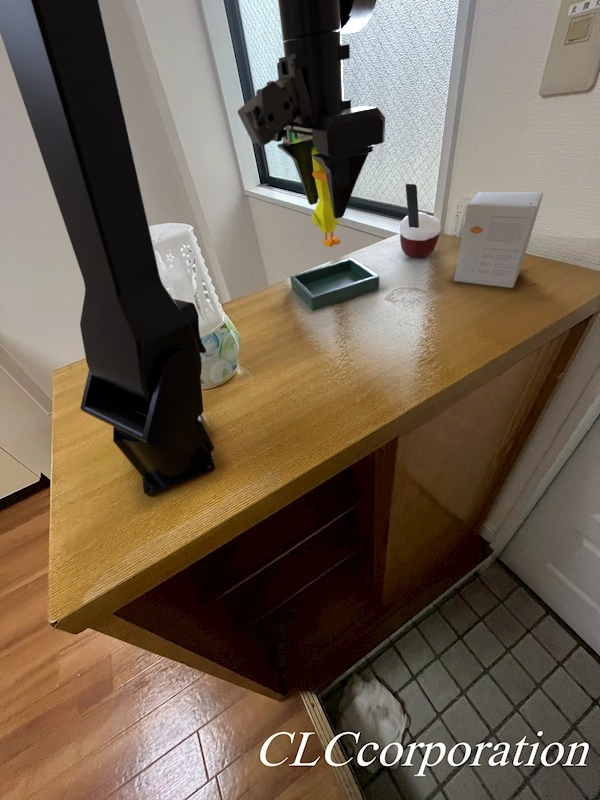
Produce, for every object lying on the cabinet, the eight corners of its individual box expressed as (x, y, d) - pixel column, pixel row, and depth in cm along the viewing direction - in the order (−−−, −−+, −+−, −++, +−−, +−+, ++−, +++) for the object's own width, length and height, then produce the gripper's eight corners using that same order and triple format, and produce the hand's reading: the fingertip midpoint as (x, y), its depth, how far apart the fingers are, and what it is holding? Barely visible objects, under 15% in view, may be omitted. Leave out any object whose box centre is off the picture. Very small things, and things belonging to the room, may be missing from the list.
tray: (312, 311, 50) (311, 298, 49) (291, 288, 56) (289, 276, 55) (379, 289, 52) (379, 276, 51) (352, 269, 58) (351, 257, 57)
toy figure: (356, 246, 45) (352, 130, 36) (333, 254, 44) (323, 138, 36) (329, 234, 49) (320, 130, 41) (308, 242, 48) (294, 137, 40)
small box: (519, 272, 50) (546, 191, 43) (513, 289, 47) (539, 205, 40) (462, 266, 54) (477, 190, 47) (452, 281, 51) (467, 203, 44)
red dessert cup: (423, 242, 63) (432, 165, 54) (449, 251, 58) (464, 169, 50) (382, 258, 60) (384, 179, 52) (406, 269, 56) (414, 185, 48)
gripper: (214, 59, 39) (247, 209, 49) (262, 38, 26) (293, 249, 36) (304, 42, 41) (317, 191, 51) (392, 15, 28) (384, 222, 38)
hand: (325, 210), depth 44 cm, fingers closed on toy figure, 7 cm apart
